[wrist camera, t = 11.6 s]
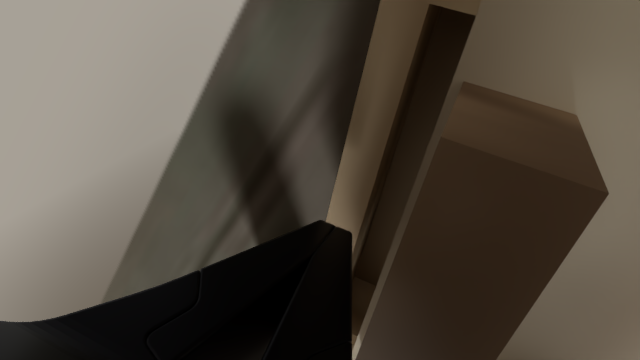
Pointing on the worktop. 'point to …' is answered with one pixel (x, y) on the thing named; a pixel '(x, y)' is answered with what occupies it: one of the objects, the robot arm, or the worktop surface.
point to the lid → (524, 197)
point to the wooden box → (394, 127)
